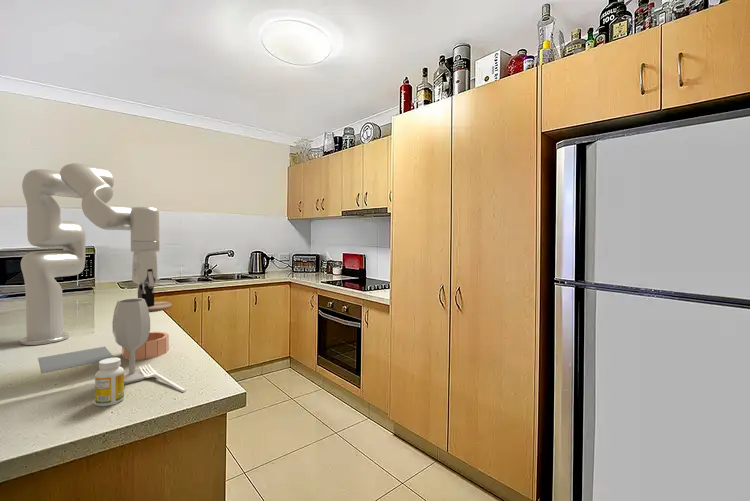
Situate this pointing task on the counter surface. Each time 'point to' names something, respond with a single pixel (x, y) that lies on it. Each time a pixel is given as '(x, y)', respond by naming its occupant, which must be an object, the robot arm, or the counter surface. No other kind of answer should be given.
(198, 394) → the counter surface
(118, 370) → the supplement bottle
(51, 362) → the mat
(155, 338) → the bowl
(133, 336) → the wineglass
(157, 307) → the lid
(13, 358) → the counter surface
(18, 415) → the counter surface
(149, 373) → the fork
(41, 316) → the robot arm
